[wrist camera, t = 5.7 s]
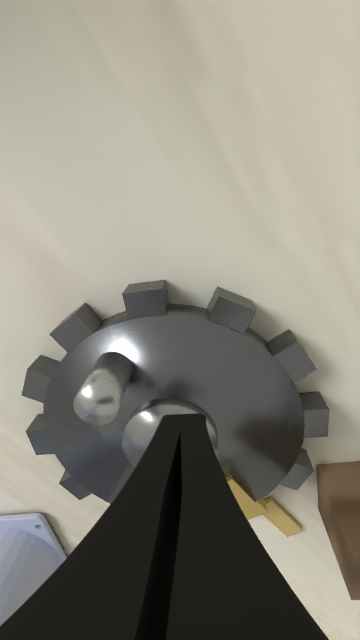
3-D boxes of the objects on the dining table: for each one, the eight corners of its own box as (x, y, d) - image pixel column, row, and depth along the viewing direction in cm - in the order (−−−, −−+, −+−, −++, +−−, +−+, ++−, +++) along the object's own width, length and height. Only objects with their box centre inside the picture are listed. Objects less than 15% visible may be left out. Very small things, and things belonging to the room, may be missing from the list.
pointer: (301, 525, 21) (302, 530, 21) (286, 532, 22) (287, 536, 21) (271, 497, 20) (271, 501, 20) (255, 504, 21) (256, 508, 20)
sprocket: (381, 352, 16) (446, 413, 12) (239, 536, 22) (247, 616, 18) (70, 227, 14) (16, 245, 10) (14, 464, 21) (-32, 534, 16)
